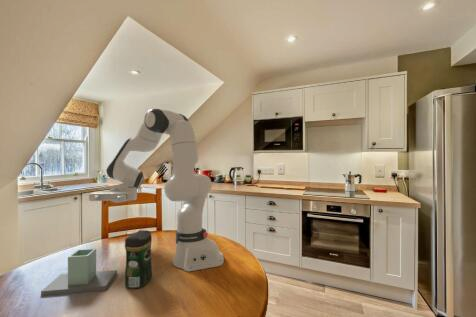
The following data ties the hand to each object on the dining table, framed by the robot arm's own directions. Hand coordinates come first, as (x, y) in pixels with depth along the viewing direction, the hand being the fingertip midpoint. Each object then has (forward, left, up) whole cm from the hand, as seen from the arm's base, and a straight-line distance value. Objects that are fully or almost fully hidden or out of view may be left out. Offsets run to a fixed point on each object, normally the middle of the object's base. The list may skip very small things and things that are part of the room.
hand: (107, 198), depth 99 cm
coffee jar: (-18, +19, -28) cm, 39 cm away
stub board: (+2, +17, -28) cm, 33 cm away
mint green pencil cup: (+2, +17, -26) cm, 32 cm away
